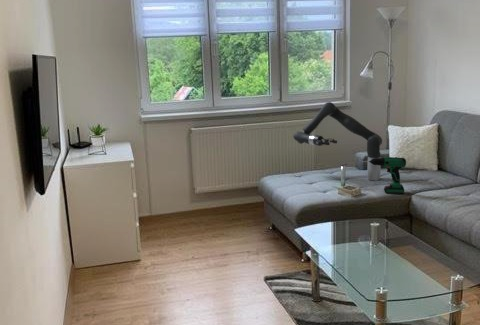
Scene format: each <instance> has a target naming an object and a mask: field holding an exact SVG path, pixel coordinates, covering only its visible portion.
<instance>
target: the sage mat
mask: <svg viewBox="0 0 480 325" xmlns="http://www.w3.org/2000/svg"><path fill="white" fill-rule="evenodd" d="M346 185H351V186H354V184H353V185H352V184H348V183H346ZM346 185H345V186H346ZM340 187H343V186H341V182H340V183H338V184H334V185H332V186H331V188H336V189H338V188H340Z"/></svg>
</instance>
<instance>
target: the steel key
mask: <svg viewBox="0 0 480 325" xmlns="http://www.w3.org/2000/svg"><path fill="white" fill-rule="evenodd" d="M347 165H348V162H344V163H341V164H340V183H341V186H345V185H346V184H347V183H346V182H347V181H346V177H347V176H346V175H347Z"/></svg>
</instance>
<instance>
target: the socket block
mask: <svg viewBox="0 0 480 325" xmlns="http://www.w3.org/2000/svg"><path fill="white" fill-rule="evenodd" d="M351 185H352V184H349V185H346V186H343V187H340V188H337V194H338V195H342V196H346V197H350V198H353V197H356V196H358V195H361V194H362V188H361V187H359V186H355V185H353V186H351Z"/></svg>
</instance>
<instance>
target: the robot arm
mask: <svg viewBox="0 0 480 325" xmlns="http://www.w3.org/2000/svg"><path fill="white" fill-rule="evenodd" d="M327 116H329V117H331V118H332V119H334V120H336V121H337V122H338V123H339V124H340V125H341V126H342V127H344V128H345V129H346V130H347V131H350V132H351V133H353V134H354V135H357V136H359V137H362V138H363V139H365V140H366V153H367V161H371V160H372V159H373V158H382V157H381V156H382V155H381V152H380V151H381V150H380V146H381V145H382V143H383V138H382V137H381V136H380V135H379V134H377V133H375V132H374V131H372V130H370V129H368V128H367V127H366V126H365V125H363V124H362V123H361V122H359V121H358V120H357V119H355V118H353V117H352V116H350V115H349V114H346V113H344V112H343V111H341V110H340V109H339V108H338V106H336V105H335V104H334V103H333V102H330V101H329V102H326V103H324V105H322V107H321V109H320V110H319V111H318V112H317V113H316V114H315V116H314V117H313V118H312V119H311V120H310V121H309V122H308V123H307V124H306V125H304V126H303V128H302V130H303V131H296V132H294V133H293V139H294V141H296V142H297V143H298V144H301V145H302V144H304V143H305V144H309V145H313V146H317V147H321V146H330V144H338V140H336V139H335V138H330V137H329V138H326V137H325V138H324V137H323V135H317V134H312V133H313V132H314V130H316V129H317V128H318V126H319V125H320V124H321V122H322V121H323V120H324V119H325V118H326V117H327ZM381 167H382V165H373V164H371V162H367V171H366V172H367V173H366V176H367V177H366V179H367V180H368V179H369V180H368V181H373V180H375V181H379V180H381V172H382V170H381V169H382V168H381Z"/></svg>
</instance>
